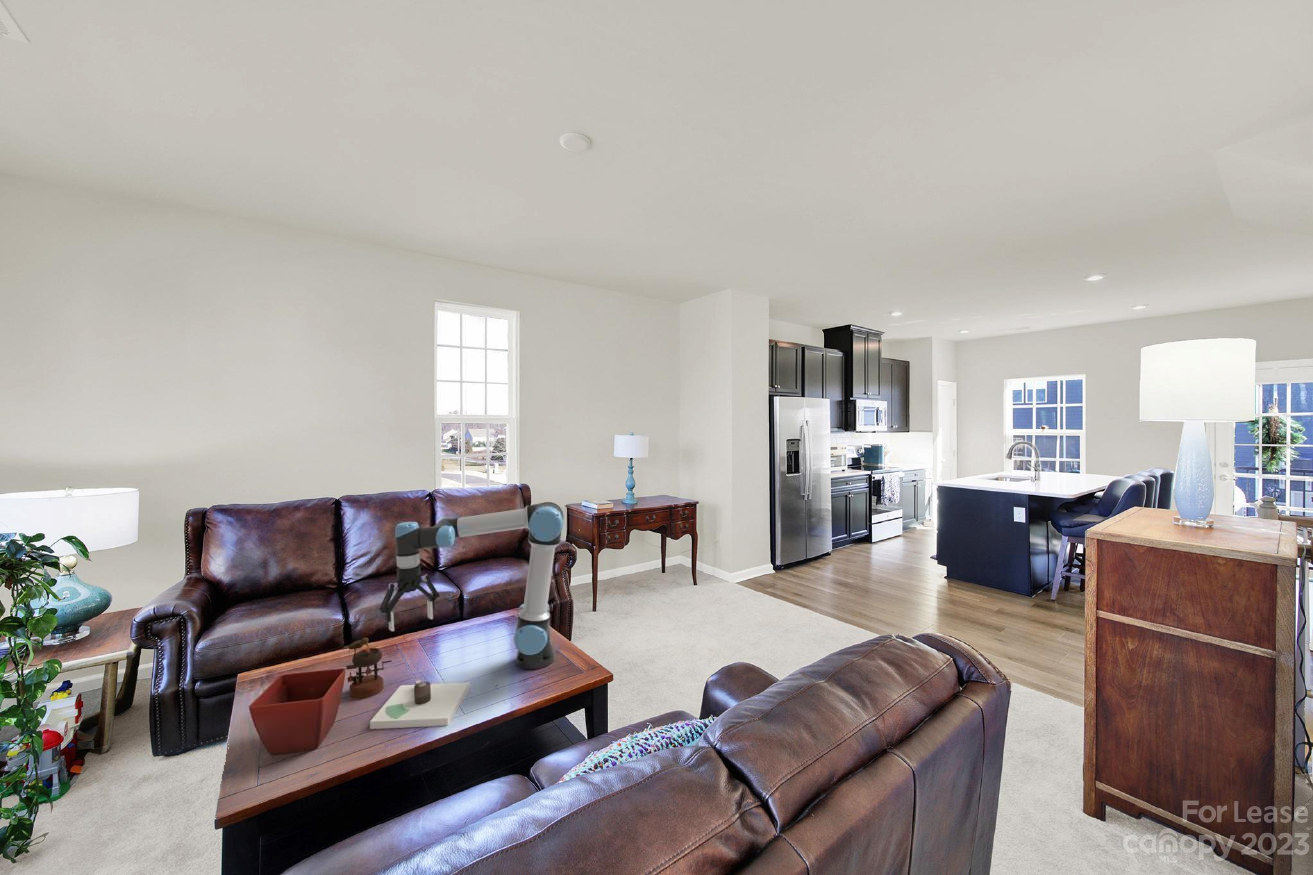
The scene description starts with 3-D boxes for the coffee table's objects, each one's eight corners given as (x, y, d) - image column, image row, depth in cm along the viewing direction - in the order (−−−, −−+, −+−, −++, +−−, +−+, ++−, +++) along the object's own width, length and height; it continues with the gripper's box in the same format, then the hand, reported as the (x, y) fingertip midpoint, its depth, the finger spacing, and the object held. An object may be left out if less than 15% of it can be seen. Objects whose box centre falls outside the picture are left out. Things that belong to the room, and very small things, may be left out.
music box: (346, 704, 177) (343, 645, 178) (343, 693, 186) (340, 637, 187) (395, 690, 186) (392, 634, 187) (390, 680, 195) (387, 626, 196)
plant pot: (324, 755, 151) (322, 698, 150) (249, 765, 147) (246, 707, 146) (349, 717, 170) (346, 667, 169) (283, 726, 166) (280, 674, 165)
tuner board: (469, 688, 186) (469, 681, 186) (447, 725, 164) (447, 717, 164) (400, 691, 185) (400, 684, 185) (370, 729, 163) (369, 720, 163)
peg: (432, 701, 174) (431, 685, 174) (415, 705, 171) (415, 689, 171) (425, 683, 185) (424, 669, 185) (409, 688, 182) (409, 673, 182)
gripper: (438, 556, 198) (440, 611, 198) (366, 572, 179) (370, 632, 180) (447, 559, 192) (449, 615, 193) (375, 576, 174) (378, 638, 175)
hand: (411, 624), depth 187 cm, fingers open, 13 cm apart
